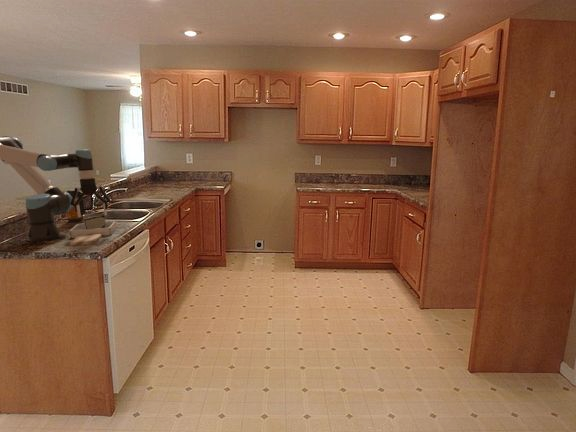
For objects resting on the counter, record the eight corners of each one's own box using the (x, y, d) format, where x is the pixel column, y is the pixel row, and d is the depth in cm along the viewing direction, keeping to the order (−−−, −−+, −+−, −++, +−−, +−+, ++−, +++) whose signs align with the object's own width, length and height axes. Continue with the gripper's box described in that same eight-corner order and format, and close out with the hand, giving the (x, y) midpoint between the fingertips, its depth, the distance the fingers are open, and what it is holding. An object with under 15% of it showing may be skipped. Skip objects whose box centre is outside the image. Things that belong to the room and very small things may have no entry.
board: (70, 245, 202) (69, 242, 201) (78, 237, 216) (77, 235, 216) (96, 243, 204) (95, 240, 204) (102, 236, 219) (101, 233, 218)
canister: (73, 219, 263) (69, 189, 259) (89, 219, 262) (85, 188, 258) (65, 222, 254) (60, 191, 250) (81, 222, 253) (77, 191, 249)
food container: (102, 229, 233) (100, 212, 231) (107, 231, 229) (105, 214, 227) (80, 234, 224) (78, 216, 222) (85, 236, 220) (83, 218, 218)
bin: (70, 238, 216) (69, 230, 215) (78, 230, 232) (77, 224, 231) (111, 234, 221) (110, 227, 220) (116, 227, 237) (115, 221, 236)
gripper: (60, 180, 213) (66, 219, 218) (110, 177, 219) (115, 215, 223) (64, 178, 221) (70, 216, 225) (112, 175, 226) (117, 212, 231)
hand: (92, 216), depth 224 cm, fingers open, 13 cm apart
